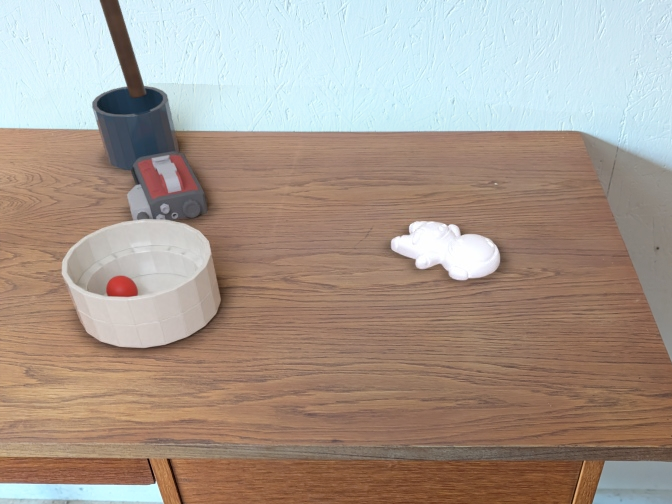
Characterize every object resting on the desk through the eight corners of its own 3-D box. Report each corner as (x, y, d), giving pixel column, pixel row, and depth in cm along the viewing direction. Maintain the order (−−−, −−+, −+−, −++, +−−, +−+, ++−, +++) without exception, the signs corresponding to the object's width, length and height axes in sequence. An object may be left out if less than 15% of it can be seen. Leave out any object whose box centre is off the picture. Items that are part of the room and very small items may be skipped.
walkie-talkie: (118, 182, 91) (149, 264, 80) (108, 146, 88) (138, 227, 76) (187, 169, 94) (227, 247, 82) (179, 134, 90) (220, 210, 78)
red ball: (147, 297, 75) (127, 279, 75) (139, 283, 72) (117, 264, 72) (126, 317, 74) (105, 298, 74) (117, 303, 71) (95, 284, 71)
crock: (99, 172, 93) (81, 115, 88) (120, 140, 99) (105, 84, 93) (170, 175, 93) (156, 117, 87) (187, 142, 98) (175, 86, 93)
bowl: (62, 350, 70) (39, 296, 66) (106, 268, 79) (89, 216, 75) (204, 355, 70) (191, 302, 65) (233, 273, 79) (223, 221, 74)
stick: (127, 98, 89) (70, -78, 76) (134, 92, 90) (79, -82, 77) (142, 97, 88) (88, -80, 76) (149, 91, 90) (96, -84, 77)
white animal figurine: (425, 222, 85) (426, 197, 83) (513, 256, 81) (517, 231, 78) (380, 255, 81) (379, 230, 78) (470, 293, 76) (473, 267, 74)
